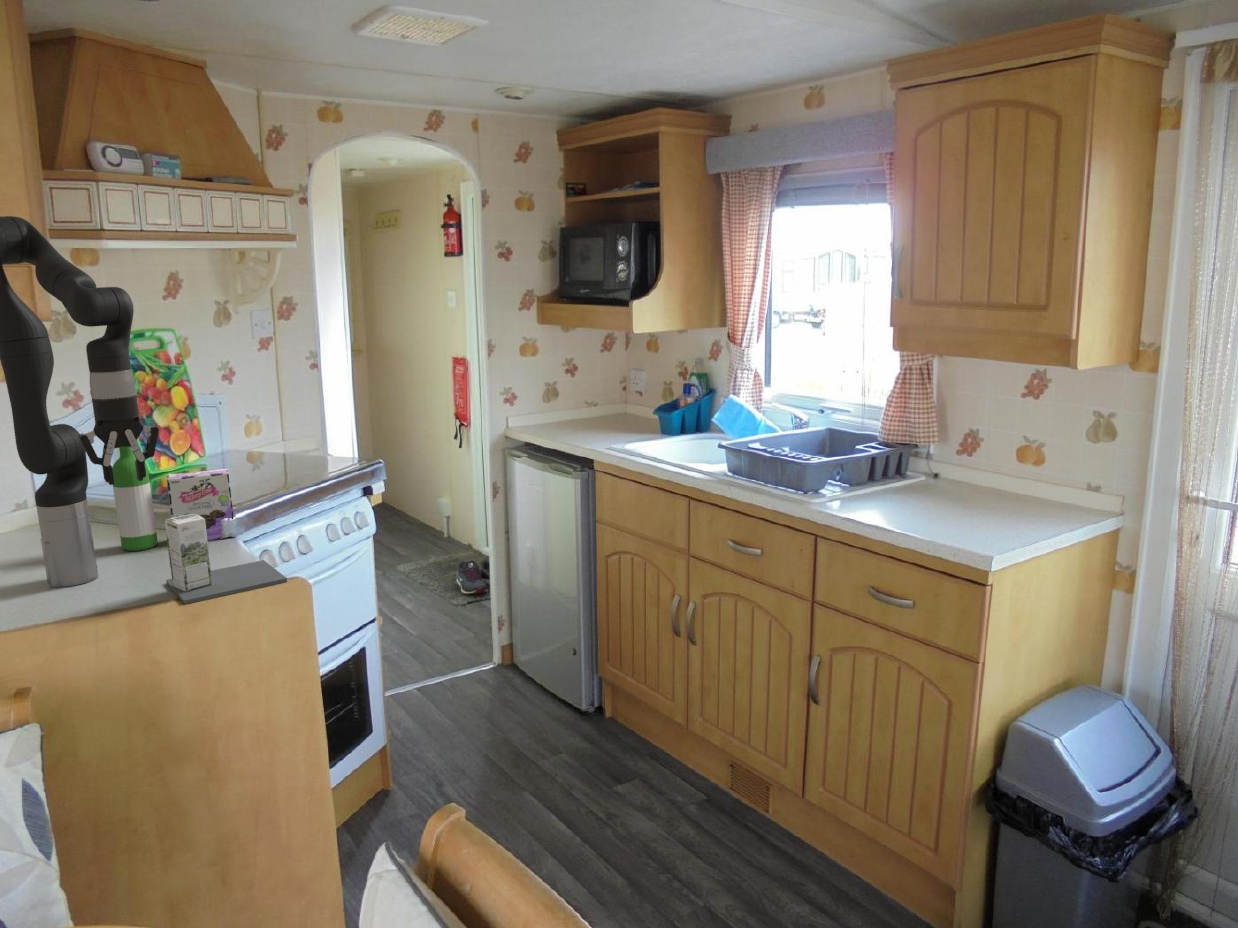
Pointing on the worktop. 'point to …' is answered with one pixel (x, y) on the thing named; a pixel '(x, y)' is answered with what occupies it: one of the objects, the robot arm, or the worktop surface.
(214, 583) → the mat
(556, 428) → the worktop surface
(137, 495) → the wine bottle
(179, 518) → the syrup box
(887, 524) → the worktop surface
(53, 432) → the robot arm
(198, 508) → the candy box
